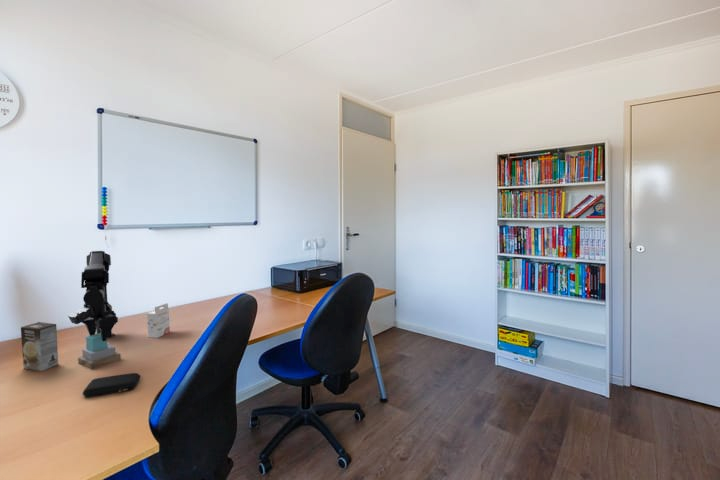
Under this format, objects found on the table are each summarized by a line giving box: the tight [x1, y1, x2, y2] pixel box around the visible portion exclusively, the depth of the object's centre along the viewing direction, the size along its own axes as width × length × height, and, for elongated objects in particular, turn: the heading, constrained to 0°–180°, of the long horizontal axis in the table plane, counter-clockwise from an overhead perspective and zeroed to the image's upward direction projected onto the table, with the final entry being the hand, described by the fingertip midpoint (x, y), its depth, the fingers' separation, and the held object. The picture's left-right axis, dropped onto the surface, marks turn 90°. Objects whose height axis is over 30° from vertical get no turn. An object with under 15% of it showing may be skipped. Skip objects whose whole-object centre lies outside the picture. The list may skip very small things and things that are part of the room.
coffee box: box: [20, 321, 59, 372], centre depth 129 cm, size 9×6×16 cm
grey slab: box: [82, 343, 117, 362], centre depth 134 cm, size 8×8×3 cm
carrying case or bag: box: [82, 372, 142, 398], centre depth 113 cm, size 11×3×15 cm
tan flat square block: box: [77, 351, 122, 370], centre depth 134 cm, size 10×10×3 cm
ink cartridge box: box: [146, 303, 171, 339], centre depth 163 cm, size 9×5×15 cm, turn 168°
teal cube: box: [85, 333, 109, 352], centre depth 133 cm, size 5×5×5 cm
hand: (98, 338), depth 134 cm, fingers open, 9 cm apart
